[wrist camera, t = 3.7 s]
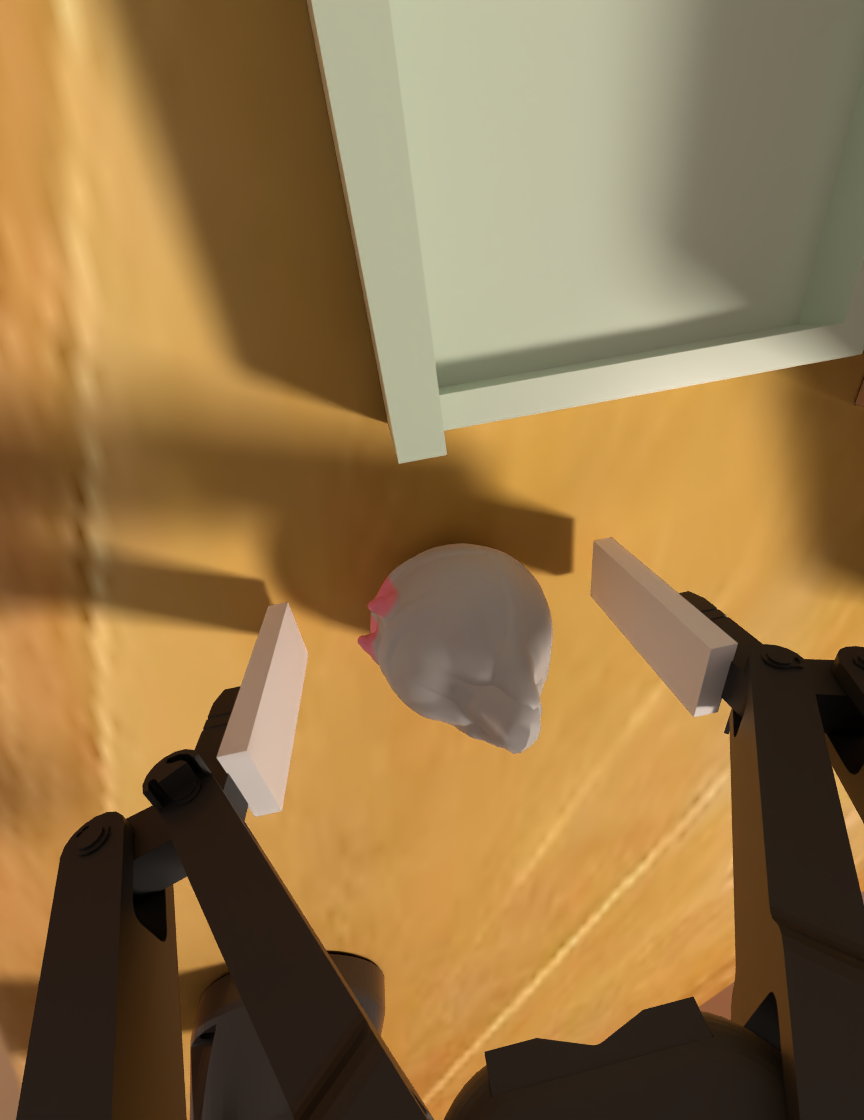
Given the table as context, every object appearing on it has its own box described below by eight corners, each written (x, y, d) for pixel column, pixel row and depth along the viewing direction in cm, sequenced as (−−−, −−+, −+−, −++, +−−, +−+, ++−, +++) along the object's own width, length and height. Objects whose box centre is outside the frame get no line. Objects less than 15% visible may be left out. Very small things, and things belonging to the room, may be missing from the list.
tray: (388, 423, 14) (398, 463, 10) (272, -177, 8) (178, -706, 4) (790, 350, 15) (960, 359, 11) (943, -244, 9) (1450, -743, 5)
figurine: (381, 495, 16) (395, 626, 9) (543, 534, 18) (661, 668, 11) (346, 631, 18) (335, 812, 12) (489, 652, 20) (554, 819, 13)
